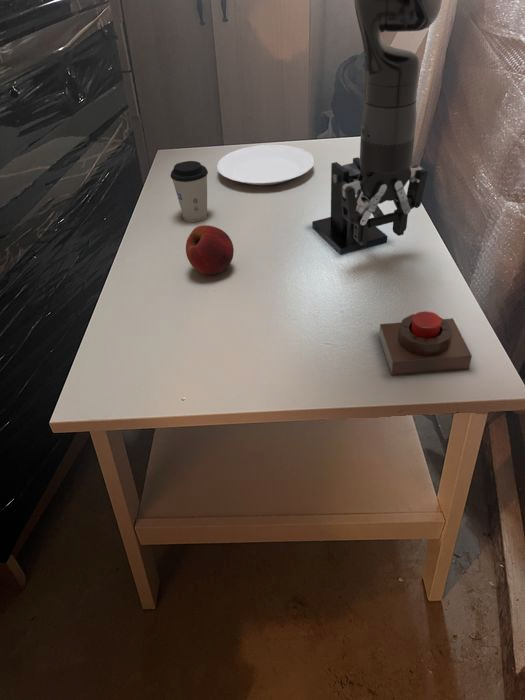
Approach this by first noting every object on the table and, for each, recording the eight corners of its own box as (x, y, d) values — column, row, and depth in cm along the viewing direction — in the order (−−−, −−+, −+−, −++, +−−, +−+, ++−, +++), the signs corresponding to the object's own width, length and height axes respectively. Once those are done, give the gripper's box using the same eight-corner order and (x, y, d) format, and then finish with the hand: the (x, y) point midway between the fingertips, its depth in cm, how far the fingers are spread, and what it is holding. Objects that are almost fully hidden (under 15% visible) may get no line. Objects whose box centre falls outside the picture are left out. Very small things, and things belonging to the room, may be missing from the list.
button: (435, 321, 77) (437, 310, 76) (443, 337, 74) (445, 326, 73) (408, 323, 77) (409, 312, 76) (415, 340, 74) (416, 329, 73)
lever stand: (387, 242, 101) (393, 170, 93) (340, 254, 99) (342, 182, 91) (355, 216, 109) (358, 148, 101) (312, 227, 107) (311, 158, 99)
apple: (185, 264, 99) (177, 221, 94) (229, 254, 101) (224, 212, 96) (194, 286, 94) (187, 242, 89) (240, 276, 95) (236, 232, 90)
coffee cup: (217, 208, 115) (211, 158, 109) (208, 225, 110) (201, 174, 103) (183, 207, 116) (175, 158, 110) (172, 224, 111) (163, 173, 105)
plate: (215, 159, 135) (214, 149, 133) (305, 150, 136) (305, 140, 134) (220, 198, 118) (219, 187, 117) (323, 187, 120) (323, 176, 118)
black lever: (396, 225, 93) (400, 213, 91) (368, 232, 91) (371, 221, 89) (358, 172, 99) (361, 160, 97) (332, 178, 98) (334, 166, 96)
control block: (450, 330, 81) (454, 307, 79) (469, 368, 75) (474, 344, 72) (378, 336, 81) (380, 313, 79) (391, 375, 75) (393, 351, 72)
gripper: (355, 151, 79) (351, 260, 89) (446, 131, 82) (431, 238, 93) (330, 134, 84) (328, 238, 95) (416, 116, 88) (405, 218, 98)
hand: (379, 237), depth 94 cm, fingers open, 6 cm apart
